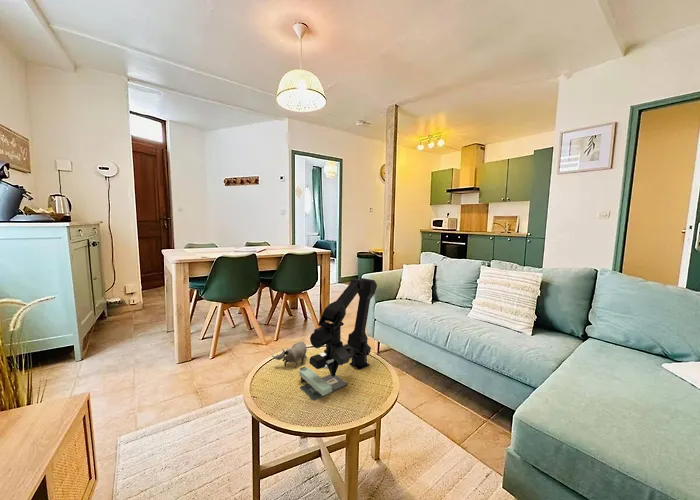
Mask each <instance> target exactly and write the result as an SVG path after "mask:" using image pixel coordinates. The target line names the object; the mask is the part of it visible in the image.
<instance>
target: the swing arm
mask: <svg viewBox="0 0 700 500" xmlns="http://www.w3.org/2000/svg"><path fill="white" fill-rule="evenodd" d="M298 373H299V376H300V378H301V377H302V378H303V379H304V380H305V382H307V384H308V383H309V384H310V385H311V386H312V387H313V388H315V389H316V390H317V391H318V392H319V393H320V394H321V395H323V396H324V395H326V394H328V393H330V392H332V386H331V385H329V384H328V383H327V382H326V381H324V380H323V379H322V377H321V376H319V375H318V374H317V373H316V372H315V371H313V370H312V369H310V368H309V367H306V366H303V367H300V368H299V372H298ZM332 393H333V392H332ZM330 394H331V393H330ZM328 395H329V394H328ZM326 396H327V395H326ZM324 397H325V396H324Z"/></svg>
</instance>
